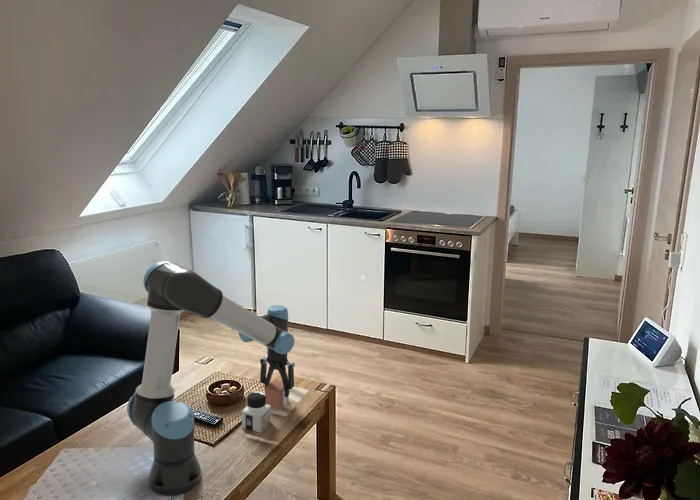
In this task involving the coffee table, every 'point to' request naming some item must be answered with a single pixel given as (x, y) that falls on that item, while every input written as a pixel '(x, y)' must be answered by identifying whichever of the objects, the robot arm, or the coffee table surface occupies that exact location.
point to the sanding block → (274, 394)
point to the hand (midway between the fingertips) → (276, 401)
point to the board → (291, 401)
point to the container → (256, 412)
